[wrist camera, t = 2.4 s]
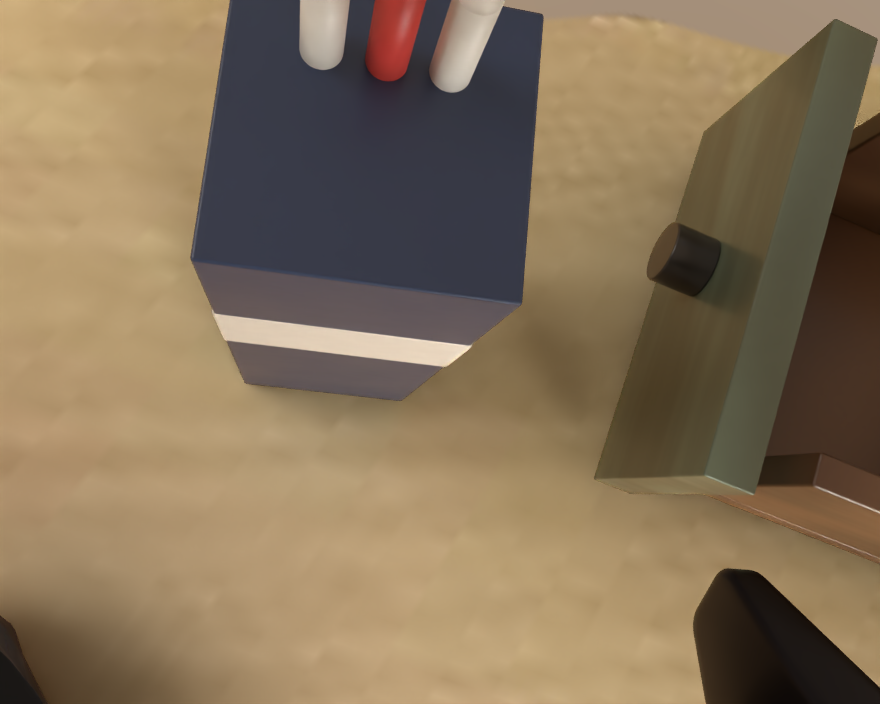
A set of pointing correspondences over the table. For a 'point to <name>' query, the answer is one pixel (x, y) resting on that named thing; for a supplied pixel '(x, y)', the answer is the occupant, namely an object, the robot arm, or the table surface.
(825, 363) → the drawer
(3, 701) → the black sponge
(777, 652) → the robot arm
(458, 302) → the straw box
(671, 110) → the table surface
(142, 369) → the table surface
